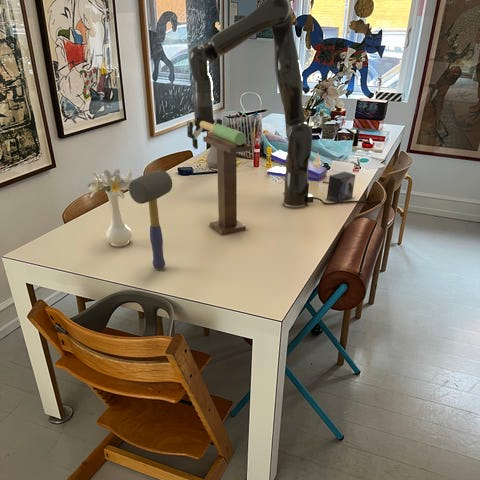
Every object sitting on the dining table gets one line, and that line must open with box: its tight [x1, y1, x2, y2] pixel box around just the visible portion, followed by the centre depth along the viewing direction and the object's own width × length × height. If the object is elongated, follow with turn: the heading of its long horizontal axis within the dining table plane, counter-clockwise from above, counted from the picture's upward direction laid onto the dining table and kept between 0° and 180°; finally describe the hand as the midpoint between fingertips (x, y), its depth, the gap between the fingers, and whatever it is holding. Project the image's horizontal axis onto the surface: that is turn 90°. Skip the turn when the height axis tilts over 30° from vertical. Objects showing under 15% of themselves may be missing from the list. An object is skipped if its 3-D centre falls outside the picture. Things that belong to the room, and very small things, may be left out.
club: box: [200, 121, 246, 145], centre depth 165 cm, size 28×4×4 cm, turn 30°
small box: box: [326, 171, 356, 203], centre depth 206 cm, size 11×6×10 cm, turn 131°
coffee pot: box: [205, 144, 217, 169], centre depth 248 cm, size 21×12×15 cm, turn 68°
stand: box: [202, 132, 252, 236], centre depth 172 cm, size 20×10×32 cm, turn 30°
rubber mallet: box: [128, 169, 173, 271], centre depth 144 cm, size 12×8×30 cm, turn 150°
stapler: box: [266, 149, 328, 182], centre depth 237 cm, size 12×28×10 cm, turn 63°
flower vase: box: [87, 169, 136, 248], centre depth 162 cm, size 13×18×25 cm
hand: (205, 147), depth 195 cm, fingers open, 8 cm apart
